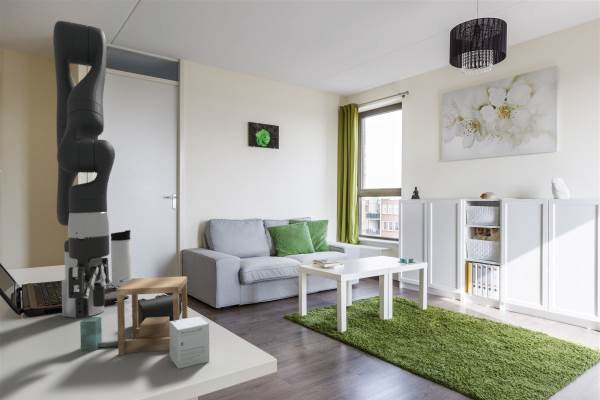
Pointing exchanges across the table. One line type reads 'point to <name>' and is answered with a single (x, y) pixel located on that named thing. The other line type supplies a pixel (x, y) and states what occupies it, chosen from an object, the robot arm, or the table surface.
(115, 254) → the travel mug
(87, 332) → the corded block
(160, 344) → the shelf lane
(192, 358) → the product box
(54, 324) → the table surface
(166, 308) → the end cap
